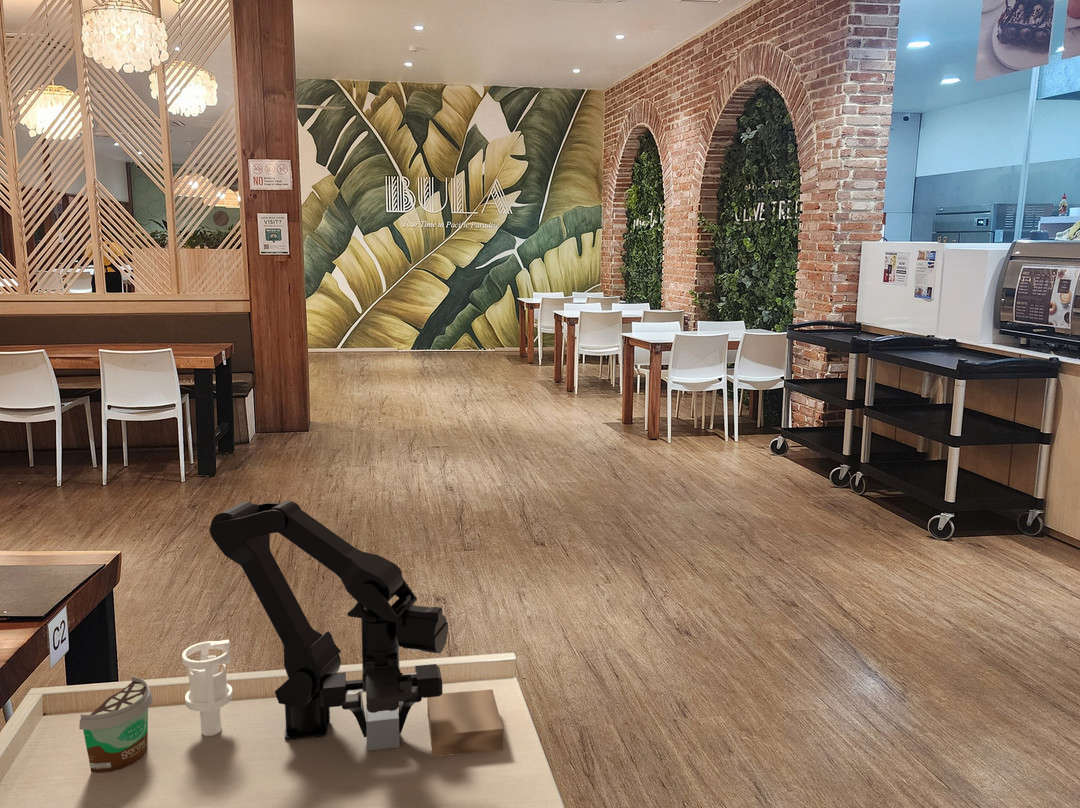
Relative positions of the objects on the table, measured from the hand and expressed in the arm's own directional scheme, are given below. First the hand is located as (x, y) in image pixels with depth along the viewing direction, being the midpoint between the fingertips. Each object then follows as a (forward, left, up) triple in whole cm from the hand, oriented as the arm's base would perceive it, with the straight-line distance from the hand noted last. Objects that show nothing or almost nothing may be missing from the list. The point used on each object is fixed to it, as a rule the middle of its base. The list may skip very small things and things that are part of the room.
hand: (382, 733), depth 136 cm
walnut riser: (+13, 0, -2) cm, 13 cm away
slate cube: (0, 0, -1) cm, 1 cm away
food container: (-38, +3, -1) cm, 38 cm away
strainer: (-27, +8, -1) cm, 28 cm away
